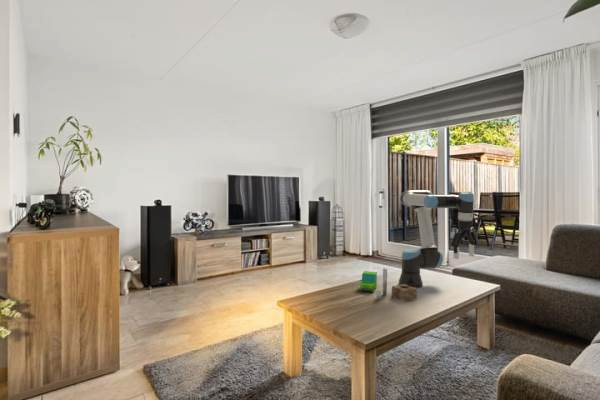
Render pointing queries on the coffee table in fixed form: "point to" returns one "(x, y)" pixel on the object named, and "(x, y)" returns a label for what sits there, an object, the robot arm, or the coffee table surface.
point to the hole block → (404, 292)
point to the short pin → (378, 295)
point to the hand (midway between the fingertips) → (463, 257)
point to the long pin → (384, 282)
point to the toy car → (368, 281)
